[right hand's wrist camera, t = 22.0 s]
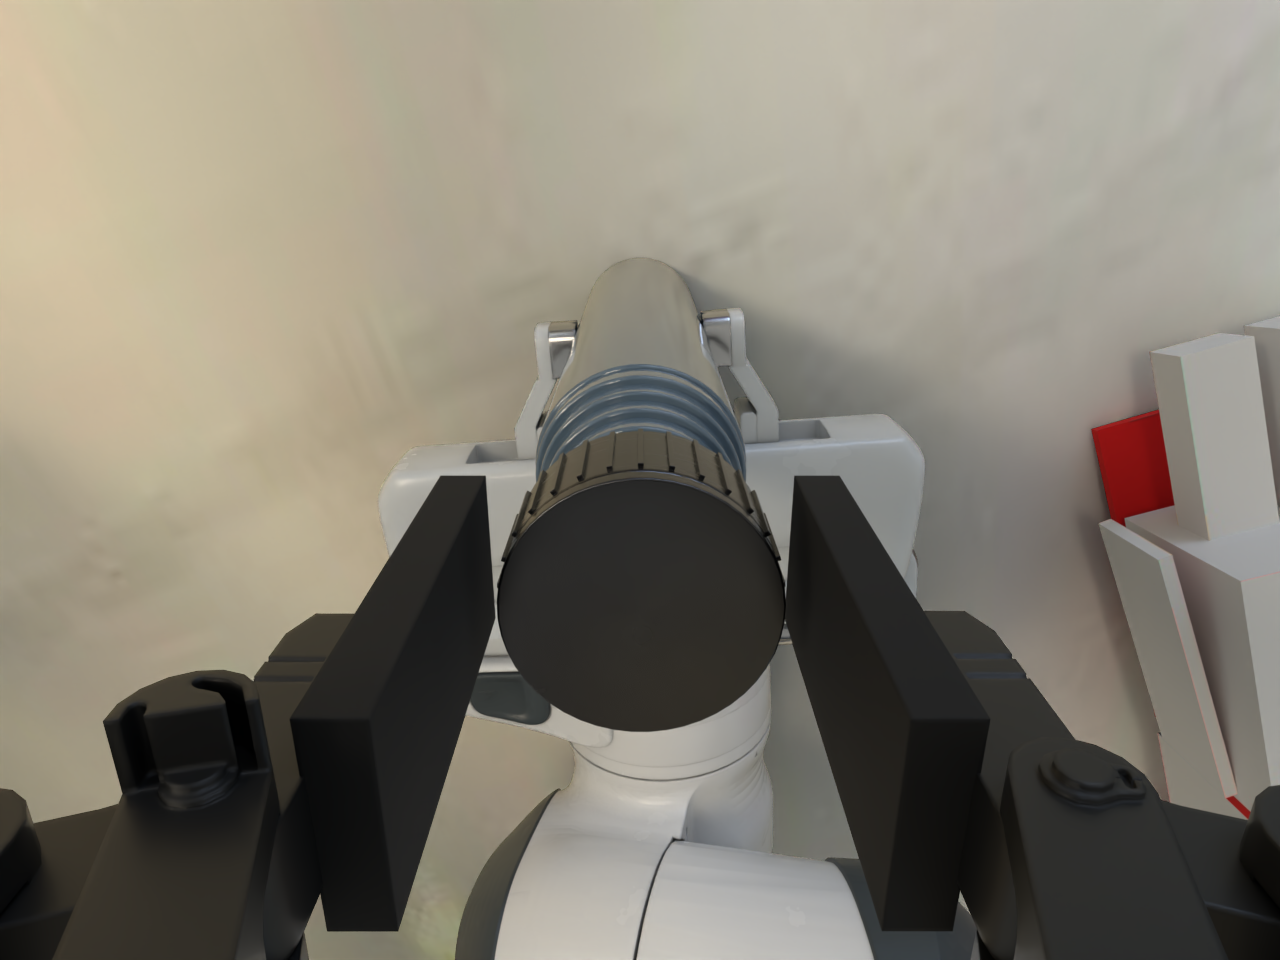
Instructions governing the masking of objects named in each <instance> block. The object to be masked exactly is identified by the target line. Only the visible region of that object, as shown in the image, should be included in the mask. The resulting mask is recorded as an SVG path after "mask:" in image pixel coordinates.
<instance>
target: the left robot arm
mask: <svg viewBox="0 0 1280 960" xmlns="http://www.w3.org/2000/svg"><path fill="white" fill-rule="evenodd" d="M700 320H701V323H702V326H703V329H704V331H705V334H706V337H707V340H708V342H709V345H710V348H711V351H712V353H713V356H714V359H715V362H716V364H717V367H720V366H728V368H729V369H730V371H731V373H732V374H733V376H734V377H735V379H736V380H737V382H738V383H739V385H740V386H741V388H742V389H743V391H744V393H745V394H746V396H747V397H748V398H747V397H739V398H737V399H736V400H734V403H735V416H736V419H737V422H738V425H739V427H740V430H741V433H742V437H743V441H744V445H745V452H746V484H747V485H748V486H749V488H750V490H751V491H753V490H755V491H756V493H757V496H758V498H759V501H760V504H761V507H762V510H763V513H765V514H766V517H767V520H768V522H769V525H770V528H771V531H772V534H773V537H774V540H775V542H776V545H777V548H778V551H779V554H780V557H781V561H778V562H779V565H780V568H781V571H782V574H783V577H784V580H785V585H786V587H787V573H788V559H789V544H790V530H791V516H792V501H793V487H794V476H840V477H841V479H842V480H843V482H844V484H845V485H846V487H847V488H848V490H849V492H850V493H851V495H852V496H853V498H854V500H855V501H856V503H857V505H858V506H859V508H860V509H861V511H862V513H863V514H864V516H865V517H866V519H867V521H868V522H869V524H870V525H871V527H872V529H873V530H874V532H875V534H876V535H877V537H878V538H879V540H880V542H881V543H882V545H883V546H884V548H885V550H886V551H887V553H888V555H889V556H890V558H891V559H892V561H893V563H894V564H895V566H896V567H897V569H898V571H899V572H900V574H901V575H902V577H903V579H904V580H905V582H906V584H907V585H908V587H909V588H910V590H911V592H912V593H913V595H914V596H915V598H916V596H917V578H918V561H917V556H916V554H915V552H914V550H913V546H914V541H915V537H916V532H917V527H918V522H919V516H920V510H921V503H922V496H923V487H924V478H925V460H924V456H923V453H922V451H921V449H920V448H919V446H918V445H917V443H916V442H915V441H914V440H913V438H912V437H911V436H910V435H909V434H908V433H907V432H906V431H905V430H904V429H903V428H902V427H901V426H900V425H898V424H897V423H896V422H895V421H894V420H893V419H891V418H890V417H889V416H887V415H884V414H864V415H849V416H835V417H821V418H807V419H793V420H779V411H778V408H777V406H776V405H775V403H774V401H773V399H772V397H771V395H770V393H769V392H768V390H767V389H766V387H765V386H764V384H763V383H762V381H761V379H760V378H759V376H758V375H757V373H756V372H755V370H754V369H753V367H752V365H751V364H750V362H749V361H748V359H747V358H746V340H745V320H744V314H743V311H742V310H741V308H730V309H717V310H706V311H700ZM577 329H578V321H577V320H574V321H557V322H542V323H537V325H536V327H535V333H534V339H535V350H536V358H537V367H538V377H537V379H536V381H535V383H534V385H533V388H532V390H531V392H530V394H529V397H528V399H527V401H526V403H525V406H524V408H523V410H522V412H521V415H520V417H519V419H518V421H517V424H516V426H515V428H514V430H515V438H516V439H511V440H497V441H483V442H469V443H455V444H441V445H426V446H417V447H414V448H411V449H410V450H408V451H407V452H406V453H405V454H404V455H403V457H402V458H401V459H400V460H399V461H398V462H397V463H396V464H395V466H394V467H393V468H392V469H391V471H390V472H389V474H388V475H387V477H386V479H385V480H384V482H383V484H382V486H381V488H380V491H379V495H378V510H379V516H380V522H381V527H382V531H383V536H384V539H385V543H386V547H387V551H388V555H389V558H390V556H391V554H392V553H393V551H394V550H395V548H396V546H397V545H398V543H399V542H400V540H401V538H402V537H403V535H404V534H405V532H406V530H407V529H408V527H409V525H410V524H411V522H412V521H413V519H414V517H415V516H416V514H417V513H418V511H419V509H420V508H421V506H422V505H423V503H424V501H425V500H426V498H427V496H428V495H429V493H430V492H431V490H432V488H433V487H434V485H435V484H436V482H437V480H438V479H439V477H440V476H486V487H487V501H488V516H489V530H490V544H491V559H492V573H493V587H494V602H495V616H496V618H495V622H494V625H493V628H492V631H491V634H490V638H489V641H488V644H487V647H486V651H485V654H484V657H483V660H482V663H481V667H480V670H479V673H478V676H477V679H476V683H475V686H474V689H473V692H472V696H471V699H470V702H469V705H468V708H467V712H466V715H465V716H469V717H473V718H478V719H484V720H489V721H494V722H499V723H503V724H508V725H513V726H517V727H521V728H526V729H529V730H533V731H537V732H541V733H545V734H548V735H552V736H555V737H558V738H561V739H564V740H567V741H569V742H570V745H571V747H572V750H573V754H574V760H575V768H574V773H573V777H572V780H571V783H570V785H569V786H568V787H567V788H566V789H564V790H561V789H557V790H555V791H554V792H552V793H551V794H550V795H548V796H547V797H546V798H545V799H544V800H542V801H541V802H540V803H539V804H538V805H537V806H536V807H535V808H534V809H533V810H532V811H531V812H530V813H529V814H528V815H527V817H526V818H525V819H524V820H523V821H522V822H521V823H520V824H519V825H518V826H517V827H516V828H515V829H514V830H513V832H512V833H511V834H510V835H509V836H508V837H507V838H506V839H505V840H504V841H503V842H502V843H501V844H500V845H499V847H498V848H497V849H496V850H495V851H494V853H493V854H492V856H491V857H490V858H489V860H488V861H487V863H486V864H485V866H484V868H483V869H482V871H481V873H480V875H479V877H478V879H477V881H476V883H475V885H474V887H473V889H472V892H471V894H470V896H469V899H468V901H467V904H466V906H465V909H464V912H463V915H462V919H461V923H460V927H459V932H458V938H457V945H456V954H455V960H971V955H972V949H973V944H974V939H975V934H976V929H977V927H976V925H975V923H974V921H973V918H972V916H971V915H970V913H969V912H968V911H967V910H966V909H965V908H964V907H963V906H962V905H961V904H960V903H959V902H958V905H957V910H956V916H955V922H954V927H953V931H882V930H881V927H880V924H879V921H878V917H877V914H876V911H875V908H874V904H873V901H872V898H871V895H870V892H869V888H868V885H867V882H866V879H865V876H864V872H863V869H862V866H861V863H860V859H847V858H827V859H826V860H825V861H823V860H816V859H809V858H801V857H794V856H787V855H780V854H773V853H772V848H773V790H772V784H771V780H770V776H769V773H768V771H767V768H766V766H765V763H764V760H763V751H764V747H765V745H766V742H767V739H768V735H769V732H770V724H771V682H770V663H769V665H768V667H767V668H766V670H765V671H764V672H763V674H762V675H761V676H760V678H759V679H758V680H757V682H756V683H755V684H754V685H753V686H752V687H751V688H750V689H749V690H748V691H747V692H746V693H745V694H744V695H743V696H741V697H740V698H739V699H738V700H736V701H735V702H734V703H732V704H731V705H730V706H728V707H726V708H725V709H723V710H721V711H720V712H718V713H717V714H715V715H712V716H710V717H708V718H706V719H704V720H702V721H699V722H696V723H693V724H690V725H687V726H684V727H679V728H675V729H670V730H664V731H654V732H628V731H619V730H612V729H608V728H603V727H599V726H595V725H592V724H589V723H587V722H584V721H581V720H579V719H576V718H574V717H572V716H570V715H568V714H566V713H564V712H562V711H561V710H559V709H558V708H556V707H555V706H553V705H551V704H550V703H549V702H547V701H546V700H545V699H544V698H543V697H541V696H540V695H539V694H538V693H536V692H535V690H534V689H533V688H532V687H531V686H530V685H529V684H528V683H527V682H526V681H525V680H524V678H523V677H522V676H521V674H520V673H519V672H518V670H517V669H516V667H515V666H514V664H513V662H512V660H511V658H510V656H509V655H508V653H507V651H506V648H505V645H504V642H503V640H502V637H501V633H500V629H499V624H498V618H497V593H498V588H497V582H498V579H499V576H500V573H501V570H502V567H503V564H504V562H501V559H502V556H503V553H504V550H505V547H506V544H507V541H508V538H509V535H510V532H511V529H512V526H513V524H514V521H515V518H516V515H517V514H519V511H520V508H521V505H522V502H523V499H524V496H525V494H526V492H527V491H529V492H531V490H532V489H533V487H534V485H535V484H536V476H535V472H536V465H535V461H536V449H537V444H538V440H539V436H540V433H541V430H542V427H543V424H544V422H545V419H546V416H547V413H548V411H545V412H544V414H542V412H543V410H544V407H545V405H546V403H547V401H548V399H549V396H550V394H551V392H552V390H553V387H554V385H555V383H556V381H557V379H558V378H560V377H561V374H562V371H563V368H564V366H565V363H566V360H567V357H568V354H569V352H570V349H571V346H572V343H573V340H574V338H575V335H576V332H577ZM786 587H785V597H786ZM791 644H792V641H791V638H790V634H789V631H788V628H787V625H786V622H785V623H784V627H783V631H782V636H781V639H780V642H779V644H778V645H791Z"/></svg>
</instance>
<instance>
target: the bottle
mask: <svg viewBox="0 0 1280 960" xmlns="http://www.w3.org/2000/svg"><path fill="white" fill-rule="evenodd" d="M638 429H643V431H652V432H659V433H666V431H670V432H671V433H672V435H675V436H679V437H683V438H686V439H688V440H691V441H693V439H695V440H698V443H699V444H700V445H702V446H704V447H706V448H707V449H709V450H711V451H713V452H714V453H716V454H717V452H719V453H721V454H722V456H723V459H724V460H725V461H726V462H728V463H729V464H730V465H731V466H732V467H733V468H734V469H735V470H736V471H737V470H738V469H739V470H740V471H741V472H742V475H743V478H744V481H745V482H746V452H745V445H744V441H743V437H742V433H741V430H740V427H739V425H738V422H737V419H736V416H735V414H734V411H733V408H732V406H731V403H730V400H729V397H728V395H727V392H726V389H725V386H724V384H723V381H722V378H721V375H720V373H719V370H718V367H717V364H716V362H715V359H714V356H713V353H712V351H711V348H710V345H709V342H708V340H707V337H706V334H705V331H704V329H703V326H702V323H701V320H700V318H699V315H698V312H697V309H696V307H695V304H694V301H693V298H692V296H691V293H690V291H689V288H688V286H687V285H686V283H685V281H684V280H683V279H682V277H681V276H680V275H679V274H678V273H677V272H676V271H675V270H674V269H672V268H671V267H670V266H668V265H666V264H664V263H662V262H660V261H657V260H654V259H649V258H632V259H627V260H624V261H621V262H619V263H616V264H615V265H613V266H611V267H610V268H608V269H607V270H606V271H605V272H604V273H603V274H602V275H601V276H600V277H599V278H598V280H597V281H596V282H595V284H594V286H593V288H592V290H591V293H590V296H589V298H588V301H587V304H586V307H585V310H584V312H583V315H582V318H581V321H580V324H579V326H578V329H577V332H576V335H575V338H574V340H573V343H572V346H571V349H570V352H569V354H568V357H567V360H566V363H565V366H564V368H563V371H562V374H561V377H560V380H559V382H558V385H557V388H556V391H555V394H554V396H553V399H552V402H551V405H550V408H549V410H548V413H547V416H546V419H545V422H544V424H543V427H542V430H541V433H540V436H539V440H538V444H537V449H536V461H535V465H536V472H535V476H536V483H537V481H538V478H539V475H540V472H541V471H542V470H544V471H546V470H548V469H549V468H550V467H551V466H552V465H553V464H554V463H555V462H556V461H557V460H558V459H559V456H560V454H562V453H563V452H564V453H565V454H567V453H568V452H569V451H571V450H573V449H575V448H577V447H579V446H580V445H582V444H583V441H584V440H587V439H588V440H589V441H592V440H594V439H597V438H600V437H603V436H607V435H610V432H613V431H615V434H616V433H623V432H631V431H638Z"/></svg>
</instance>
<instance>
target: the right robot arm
mask: <svg viewBox="0 0 1280 960" xmlns="http://www.w3.org/2000/svg"><path fill="white" fill-rule="evenodd" d="M495 618H496V616H495V602H494V587H493V573H492V559H491V544H490V530H489V516H488V501H487V487H486V476H440V477H439V479H438V480H437V482H436V484H435V485H434V487H433V488H432V490H431V492H430V493H429V495H428V496H427V498H426V500H425V501H424V503H423V505H422V506H421V508H420V509H419V511H418V513H417V514H416V516H415V517H414V519H413V521H412V522H411V524H410V525H409V527H408V529H407V530H406V532H405V534H404V535H403V537H402V538H401V540H400V542H399V543H398V545H397V546H396V548H395V550H394V551H393V553H392V554H391V556H390V558H389V559H388V561H387V563H386V564H385V566H384V567H383V569H382V571H381V572H380V574H379V575H378V577H377V579H376V580H375V582H374V583H373V585H372V587H371V588H370V590H369V592H368V593H367V595H366V596H365V598H364V600H363V601H362V603H361V604H360V606H359V608H358V609H357V611H356V613H355V614H315V615H313V616H312V617H310V618H309V619H307V620H306V621H304V622H303V623H301V624H300V625H298V626H297V627H295V628H294V629H292V630H291V631H289V632H288V633H286V634H285V636H284V637H283V638H282V640H281V641H280V642H279V644H278V645H277V647H276V648H275V649H274V651H273V652H272V653H271V655H270V656H269V661H268V662H265V663H264V664H263V665H262V667H261V668H260V670H259V671H258V672H257V674H256V675H255V676H254V682H253V681H252V680H251V679H249V678H248V677H247V676H246V675H244V674H239V673H235V672H231V671H226V670H208V671H195V672H190V673H186V674H181V675H177V676H173V677H168V678H166V679H163V680H161V681H159V682H156V683H154V684H151V685H149V686H146V687H144V688H142V689H140V690H138V691H137V692H135V693H134V694H132V695H131V696H129V697H128V698H126V699H125V700H123V701H121V702H120V703H118V704H117V705H116V706H115V708H114V709H113V710H112V711H111V712H110V714H109V715H108V716H107V717H106V718H105V719H104V721H103V724H104V727H105V731H106V735H107V738H108V742H109V746H110V749H111V753H112V757H113V760H114V764H115V768H116V771H117V775H118V779H119V782H120V786H121V790H122V793H123V794H122V797H121V799H120V801H119V804H116V805H113V806H109V807H106V808H102V809H99V810H94V811H89V812H85V813H80V814H75V815H71V816H66V817H61V818H57V819H52V820H48V821H43V822H38V823H34V824H33V822H32V818H31V815H30V812H29V809H28V806H27V803H26V800H24V799H23V798H22V797H21V796H19V795H18V794H17V793H16V792H14V791H13V790H8V789H1V788H0V960H309V957H308V950H307V944H306V939H305V934H304V930H305V927H306V925H307V923H308V920H309V918H310V916H311V913H312V911H313V909H314V906H315V904H316V902H317V900H318V897H319V895H320V893H321V899H322V905H323V910H324V916H325V922H326V927H327V931H398V930H399V927H400V924H401V920H402V917H403V914H404V911H405V908H406V904H407V901H408V898H409V895H410V892H411V888H412V885H413V882H414V879H415V875H416V872H417V869H418V866H419V863H420V859H421V856H422V853H423V850H424V847H425V843H426V840H427V837H428V834H429V830H430V827H431V824H432V821H433V818H434V814H435V811H436V808H437V805H438V802H439V798H440V795H441V792H442V789H443V785H444V782H445V779H446V776H447V773H448V769H449V766H450V763H451V760H452V757H453V753H454V750H455V747H456V744H457V740H458V737H459V734H460V731H461V728H462V724H463V721H464V718H465V715H466V712H467V708H468V705H469V702H470V699H471V696H472V692H473V689H474V686H475V683H476V679H477V676H478V673H479V670H480V667H481V663H482V660H483V657H484V654H485V651H486V647H487V644H488V641H489V638H490V634H491V631H492V628H493V625H494V622H495ZM785 622H786V625H787V628H788V631H789V634H790V638H791V641H792V644H793V647H794V651H795V654H796V657H797V660H798V663H799V667H800V670H801V673H802V676H803V679H804V683H805V686H806V689H807V692H808V696H809V699H810V702H811V705H812V708H813V712H814V715H815V718H816V721H817V724H818V728H819V731H820V734H821V737H822V741H823V744H824V747H825V750H826V753H827V757H828V760H829V763H830V766H831V769H832V773H833V776H834V779H835V782H836V786H837V789H838V792H839V795H840V798H841V802H842V805H843V808H844V811H845V814H846V818H847V821H848V824H849V827H850V831H851V834H852V837H853V840H854V843H855V847H856V850H857V853H858V856H859V859H860V863H861V866H862V869H863V872H864V876H865V879H866V882H867V885H868V888H869V892H870V895H871V898H872V901H873V904H874V908H875V911H876V914H877V917H878V921H879V924H880V927H881V930H882V931H953V927H954V922H955V916H956V910H957V905H958V899H959V893H960V891H961V893H962V895H963V898H964V900H965V902H966V905H967V907H968V909H969V911H970V914H971V916H972V918H973V921H974V923H975V925H976V927H977V929H976V934H975V939H974V944H973V949H972V955H971V960H1280V785H1275V786H1268V787H1267V788H1266V789H1265V790H1263V791H1262V792H1261V793H1260V794H1258V795H1257V796H1256V797H1255V800H1254V803H1253V806H1252V809H1251V812H1250V815H1249V818H1248V820H1245V819H1241V818H1236V817H1231V816H1227V815H1222V814H1217V813H1213V812H1208V811H1203V810H1199V809H1194V808H1189V807H1185V806H1180V805H1177V804H1173V803H1170V802H1166V801H1162V800H1160V798H1159V795H1158V793H1157V792H1156V790H1155V789H1154V787H1153V786H1152V785H1151V783H1150V782H1149V780H1148V779H1147V778H1146V776H1145V775H1144V774H1143V773H1142V772H1140V771H1139V770H1138V769H1136V768H1135V767H1134V766H1133V765H1131V764H1130V763H1129V762H1127V761H1126V760H1125V759H1123V758H1122V757H1120V756H1118V755H1115V754H1113V753H1111V752H1109V751H1107V750H1105V749H1103V748H1101V747H1099V746H1096V745H1093V744H1089V743H1085V742H1081V741H1077V740H1075V739H1074V737H1073V736H1072V735H1071V733H1070V732H1069V730H1068V729H1067V728H1066V726H1065V725H1064V724H1063V722H1062V721H1061V720H1060V718H1059V717H1058V716H1057V714H1056V713H1055V712H1054V710H1053V709H1052V708H1051V706H1050V705H1049V704H1048V702H1047V701H1046V700H1045V698H1044V697H1043V695H1042V694H1041V693H1040V691H1039V690H1038V689H1037V687H1036V686H1035V685H1034V683H1033V682H1032V681H1031V679H1027V678H1026V673H1025V671H1024V670H1023V669H1022V667H1021V666H1020V665H1019V663H1018V662H1017V661H1016V659H1012V654H1011V652H1010V651H1009V650H1008V648H1007V647H1006V646H1005V644H1004V643H1003V642H1002V640H1001V639H1000V638H999V636H998V635H997V634H996V632H995V631H994V630H992V629H991V628H989V627H988V626H986V625H985V624H983V623H982V622H980V621H979V620H977V619H976V618H974V617H973V616H971V615H970V614H968V613H967V612H965V611H923V609H922V608H921V606H920V604H919V603H918V601H917V600H916V598H915V596H914V595H913V593H912V592H911V590H910V588H909V587H908V585H907V584H906V582H905V580H904V579H903V577H902V575H901V574H900V572H899V571H898V569H897V567H896V566H895V564H894V563H893V561H892V559H891V558H890V556H889V555H888V553H887V551H886V550H885V548H884V546H883V545H882V543H881V542H880V540H879V538H878V537H877V535H876V534H875V532H874V530H873V529H872V527H871V525H870V524H869V522H868V521H867V519H866V517H865V516H864V514H863V513H862V511H861V509H860V508H859V506H858V505H857V503H856V501H855V500H854V498H853V496H852V495H851V493H850V492H849V490H848V488H847V487H846V485H845V484H844V482H843V480H842V479H841V477H840V476H794V487H793V501H792V516H791V530H790V544H789V559H788V573H787V587H786V612H785Z"/></svg>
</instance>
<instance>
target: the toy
mask: <svg viewBox="0 0 1280 960" xmlns="http://www.w3.org/2000/svg"><path fill="white" fill-rule="evenodd" d="M1244 331H1245V335H1236V334H1226V333H1216V334H1212V335H1209V336H1205V337H1202V338H1198V339H1194V340H1191V341H1187V342H1183V343H1180V344H1176V345H1173V346H1169V347H1165V348H1162V349H1158V350H1155V351H1151V352H1150V358H1151V364H1152V370H1153V376H1154V382H1155V388H1156V394H1157V401H1158V407H1159V410H1155V411H1152V412H1149V413H1145V414H1142V415H1138V416H1135V417H1131V418H1128V419H1124V420H1121V421H1118V422H1114V423H1111V424H1107V425H1104V426H1100V427H1097V428H1093V429H1091V430H1092V434H1093V439H1094V443H1095V448H1096V452H1097V457H1098V461H1099V466H1100V470H1101V475H1102V479H1103V484H1104V488H1105V493H1106V498H1107V502H1108V507H1109V511H1110V516H1111V519H1108V520H1106V521H1103V522H1100V523H1098V524H1099V527H1100V531H1101V534H1102V538H1103V541H1104V544H1105V548H1106V551H1107V554H1108V558H1109V561H1110V564H1111V568H1112V571H1113V574H1114V578H1115V581H1116V585H1117V588H1118V591H1119V595H1120V598H1121V601H1122V605H1123V608H1124V611H1125V615H1126V618H1127V622H1128V625H1129V628H1130V632H1131V635H1132V638H1133V642H1134V645H1135V648H1136V652H1137V655H1138V658H1139V662H1140V665H1141V669H1142V672H1143V675H1144V679H1145V682H1146V685H1147V689H1148V692H1149V695H1150V699H1151V702H1152V706H1153V709H1154V714H1155V717H1156V719H1157V722H1158V726H1159V729H1160V732H1159V733H1158V739H1159V744H1160V750H1161V755H1162V761H1163V766H1164V772H1165V778H1166V783H1167V789H1168V794H1169V800H1170V803H1173V804H1177V805H1180V806H1185V807H1189V808H1194V809H1199V810H1203V811H1208V812H1213V813H1217V814H1222V815H1227V816H1231V817H1236V818H1241V819H1245V820H1248V818H1249V815H1250V812H1251V809H1252V806H1253V803H1254V800H1255V797H1256V796H1257V795H1258V794H1260V793H1261V792H1262V791H1263V790H1265V789H1266V788H1267V787H1268V786H1275V785H1280V316H1277V317H1274V318H1270V319H1266V320H1263V321H1259V322H1256V323H1252V324H1248V325H1245V326H1244Z"/></svg>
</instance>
